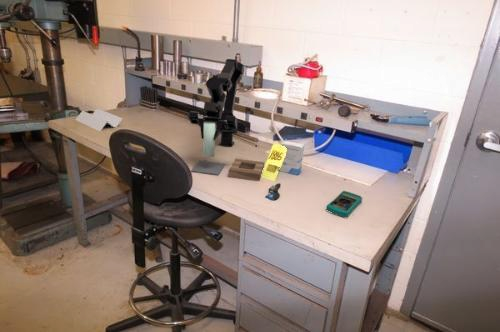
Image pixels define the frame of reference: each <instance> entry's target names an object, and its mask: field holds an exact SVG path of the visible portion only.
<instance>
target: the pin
mask: <svg viewBox="0 0 500 332" xmlns="http://www.w3.org/2000/svg"><path fill="white" fill-rule="evenodd" d="M215 132H216V122H208V121H206V122H204V138H203V139H202V140H203V144H202V147H203V153H202V156H203V157H205V158H213V157H215V155H216V154H215V149H216V140H214V135H215Z"/></svg>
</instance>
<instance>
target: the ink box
mask: <svg viewBox="0 0 500 332" xmlns="http://www.w3.org/2000/svg"><path fill="white" fill-rule="evenodd" d="M281 145H282V146H285V147H286V148H287V152H286V157H285V160H284V162H283V165H282V167H281V170H280V171H279V172H282V173H288V174H292V175H295V176H298V175H299V174H300V173H301V171H302V165H303V160H304V159H303V158H304V150H305V144H302V143H298V142H294V141H293V142H292V141H288V140H284V141H283V142H281V144H280V146H281Z"/></svg>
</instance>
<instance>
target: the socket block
mask: <svg viewBox="0 0 500 332" xmlns="http://www.w3.org/2000/svg"><path fill="white" fill-rule="evenodd" d="M263 168H264V169H265V161H259V160H249V159H242V158H235V159H234V161H233V162H232V164H231V165H230V167H229V169H228V178H232V179H233V178H234V179H239V180H240V179H242V180H247V181H255V182H260V181H261V178H262V176H261V174H262V175H263V173H262V170H263ZM263 171H264V170H263Z"/></svg>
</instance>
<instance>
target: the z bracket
mask: <svg viewBox="0 0 500 332" xmlns="http://www.w3.org/2000/svg"><path fill="white" fill-rule="evenodd" d="M122 120H123V118H122V117H119V116H117V115H115V114H113V113H110V112H108V111H105V110H102V109H100V108H96V109H95V110H94V112H93V113H89V112H86V111H85V110H81V112H80V113H79V114H78V115H77V116H76V118H75V121H77V122H79V123H82V124H83V125H86V126H87V127H89V128H92V129H94V130H96V131H98V132H101V131H102V130H103V129H104V127H105V126H106V125H107V126H109V125H110V127H112V128H114V127H116V128H117V127H118V126H119V124H120V123H121V122H122Z"/></svg>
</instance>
